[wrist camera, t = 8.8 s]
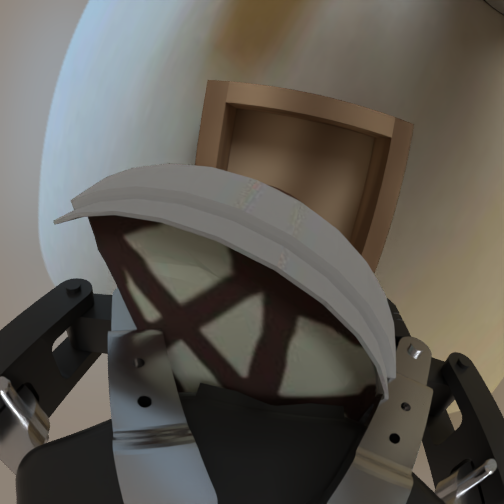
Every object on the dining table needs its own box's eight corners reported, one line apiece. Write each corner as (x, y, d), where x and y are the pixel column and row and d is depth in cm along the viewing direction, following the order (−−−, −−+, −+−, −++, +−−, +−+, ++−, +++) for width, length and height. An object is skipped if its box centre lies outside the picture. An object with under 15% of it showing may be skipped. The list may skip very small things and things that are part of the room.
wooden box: (390, 126, 15) (413, 124, 12) (328, 335, 22) (332, 368, 19) (224, 91, 16) (207, 80, 12) (199, 309, 23) (183, 339, 19)
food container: (362, 337, 16) (385, 487, 6) (267, 351, 17) (234, 494, 8) (329, 126, 12) (404, 75, 2) (207, 156, 13) (44, 195, 4)
